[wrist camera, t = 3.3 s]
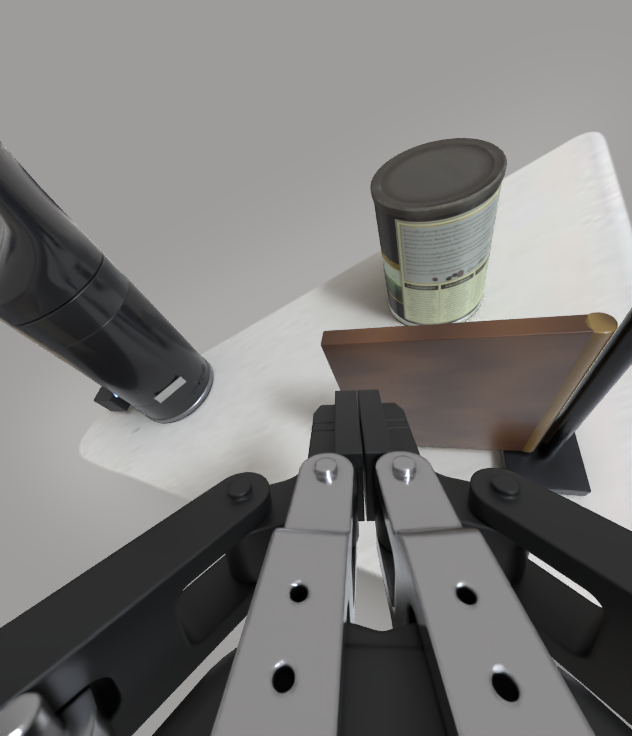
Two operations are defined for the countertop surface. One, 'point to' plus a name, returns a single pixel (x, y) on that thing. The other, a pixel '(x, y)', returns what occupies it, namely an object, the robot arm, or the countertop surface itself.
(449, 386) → the door
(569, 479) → the hinge post
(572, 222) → the countertop surface
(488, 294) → the countertop surface
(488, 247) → the coffee can
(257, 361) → the countertop surface
